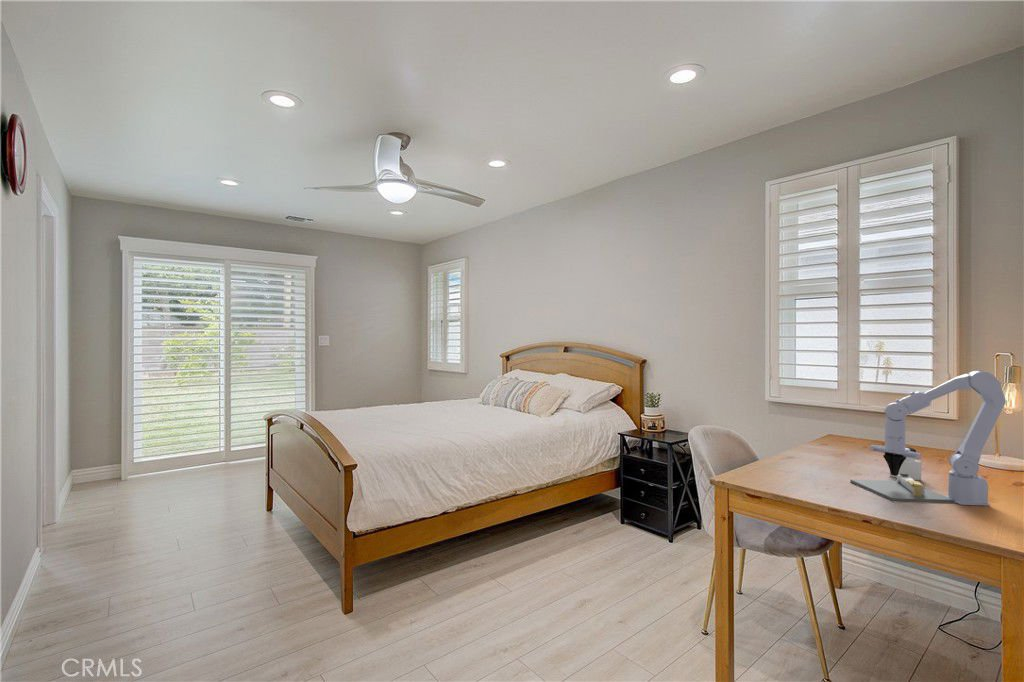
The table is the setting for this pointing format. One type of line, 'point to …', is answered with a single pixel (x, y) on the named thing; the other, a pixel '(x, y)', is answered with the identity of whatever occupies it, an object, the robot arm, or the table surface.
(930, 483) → the table surface
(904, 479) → the link
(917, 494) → the keeper
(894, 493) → the board
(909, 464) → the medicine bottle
